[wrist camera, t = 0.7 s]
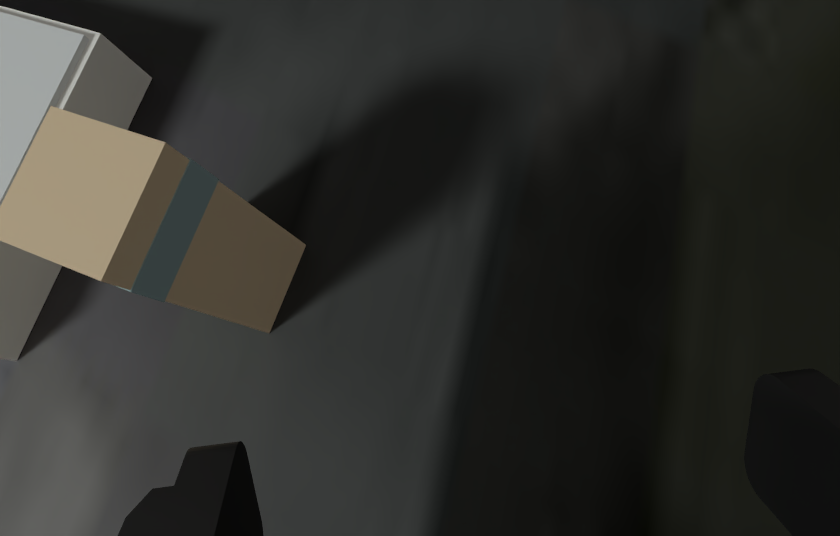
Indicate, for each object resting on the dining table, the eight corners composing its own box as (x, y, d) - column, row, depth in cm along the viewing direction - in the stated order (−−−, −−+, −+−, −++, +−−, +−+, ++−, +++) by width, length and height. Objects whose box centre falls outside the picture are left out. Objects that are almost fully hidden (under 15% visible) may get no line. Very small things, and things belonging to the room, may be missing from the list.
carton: (226, 216, 35) (50, 104, 22) (307, 244, 33) (167, 141, 21) (189, 302, 34) (-16, 235, 22) (269, 334, 33) (101, 283, 20)
